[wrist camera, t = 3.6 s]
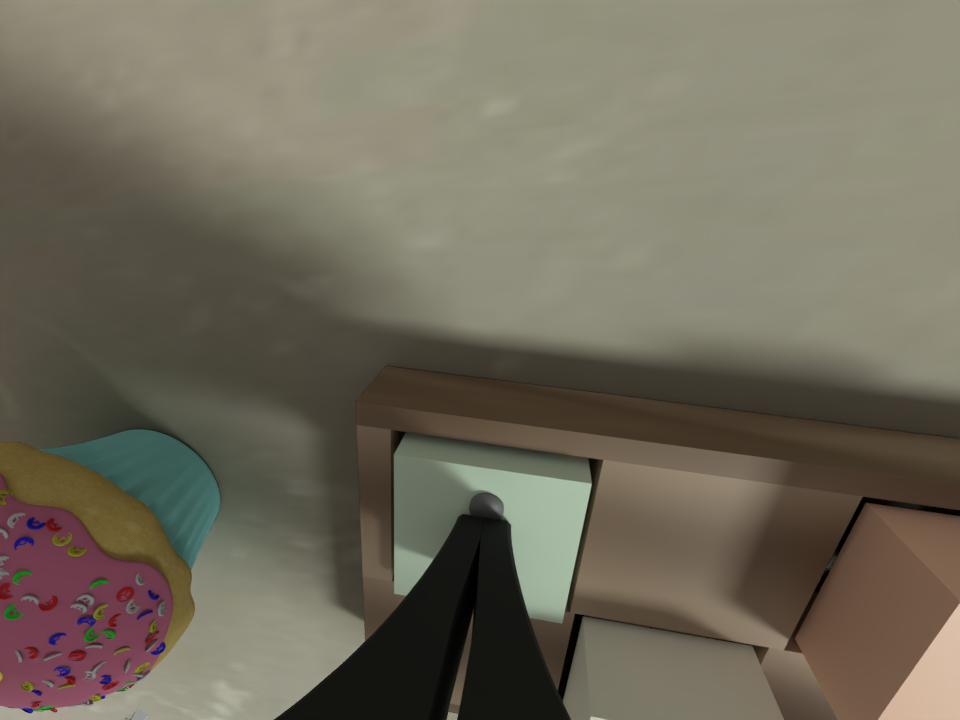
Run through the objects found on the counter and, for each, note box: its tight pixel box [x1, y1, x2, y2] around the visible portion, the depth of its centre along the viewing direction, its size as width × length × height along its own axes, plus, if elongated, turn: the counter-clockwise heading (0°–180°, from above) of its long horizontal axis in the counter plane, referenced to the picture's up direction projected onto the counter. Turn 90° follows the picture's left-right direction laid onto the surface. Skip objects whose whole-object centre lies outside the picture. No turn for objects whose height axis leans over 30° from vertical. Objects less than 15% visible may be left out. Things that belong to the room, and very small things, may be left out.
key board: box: [355, 366, 960, 720], centre depth 14 cm, size 12×19×2 cm, turn 86°
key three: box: [394, 432, 592, 624], centre depth 13 cm, size 5×5×3 cm
